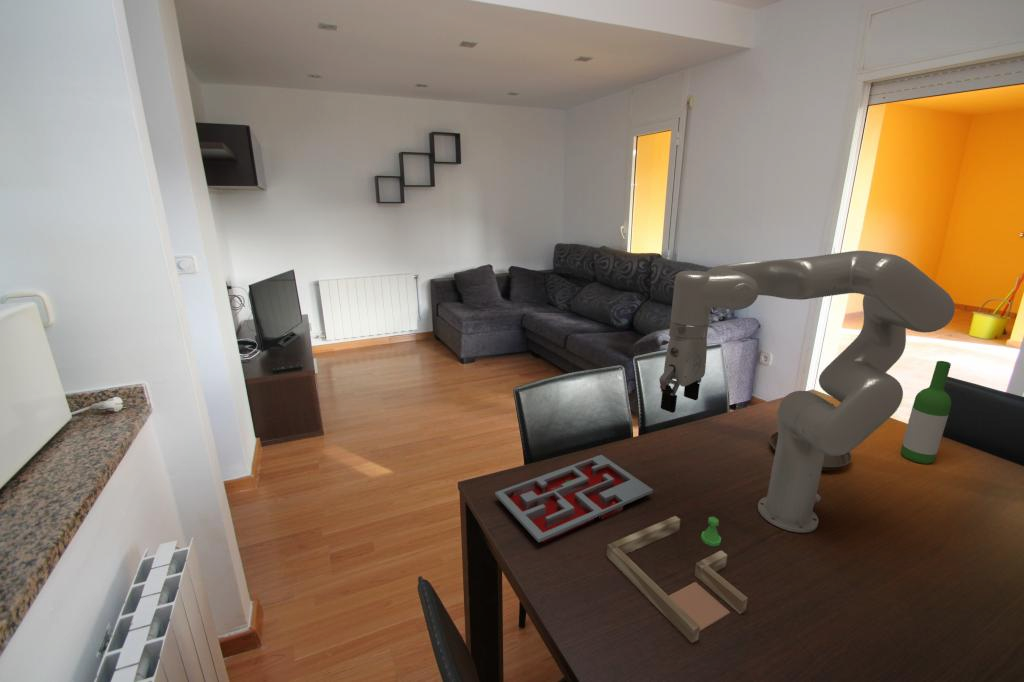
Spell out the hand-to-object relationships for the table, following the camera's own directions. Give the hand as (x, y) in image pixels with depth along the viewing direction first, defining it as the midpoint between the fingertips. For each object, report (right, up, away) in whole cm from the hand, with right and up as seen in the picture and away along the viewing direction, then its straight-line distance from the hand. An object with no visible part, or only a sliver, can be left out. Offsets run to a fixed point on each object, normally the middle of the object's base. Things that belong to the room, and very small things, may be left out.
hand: (679, 404), depth 102 cm
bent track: (-3, -34, -9) cm, 35 cm away
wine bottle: (+82, -21, +34) cm, 91 cm away
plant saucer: (+51, -21, +35) cm, 65 cm away
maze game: (-21, -27, +15) cm, 38 cm away
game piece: (+8, -31, +1) cm, 32 cm away
